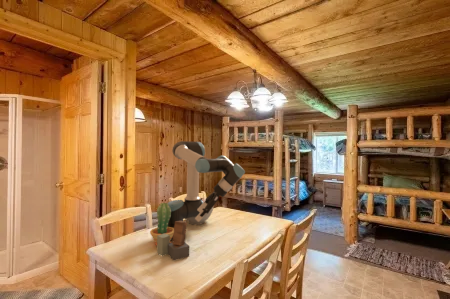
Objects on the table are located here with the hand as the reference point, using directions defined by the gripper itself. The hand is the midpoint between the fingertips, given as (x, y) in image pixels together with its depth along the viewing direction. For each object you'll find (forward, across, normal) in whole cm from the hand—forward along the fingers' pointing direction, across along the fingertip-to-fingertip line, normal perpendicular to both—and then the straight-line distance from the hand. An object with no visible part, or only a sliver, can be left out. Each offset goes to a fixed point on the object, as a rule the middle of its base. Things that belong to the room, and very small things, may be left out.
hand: (197, 215), depth 132 cm
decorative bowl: (+24, +56, -14) cm, 63 cm away
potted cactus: (+33, +14, +2) cm, 35 cm away
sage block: (+29, 0, 0) cm, 29 cm away
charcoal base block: (+24, -3, -6) cm, 25 cm away
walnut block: (+19, -2, -2) cm, 19 cm away
